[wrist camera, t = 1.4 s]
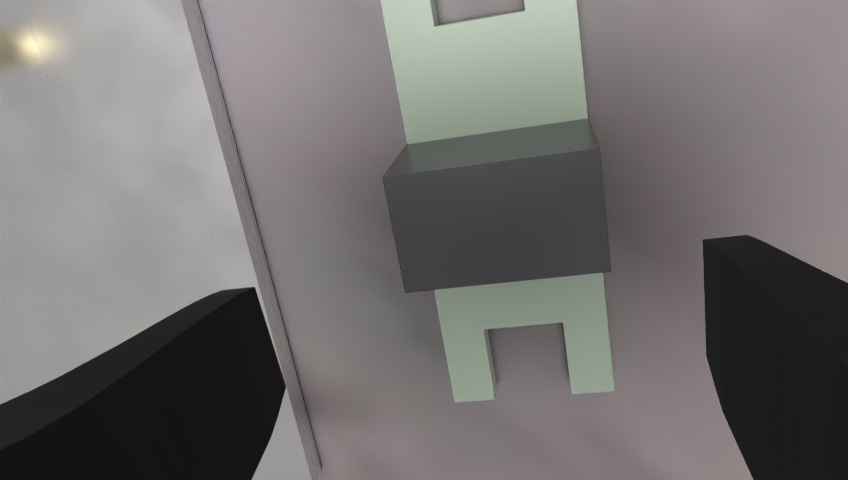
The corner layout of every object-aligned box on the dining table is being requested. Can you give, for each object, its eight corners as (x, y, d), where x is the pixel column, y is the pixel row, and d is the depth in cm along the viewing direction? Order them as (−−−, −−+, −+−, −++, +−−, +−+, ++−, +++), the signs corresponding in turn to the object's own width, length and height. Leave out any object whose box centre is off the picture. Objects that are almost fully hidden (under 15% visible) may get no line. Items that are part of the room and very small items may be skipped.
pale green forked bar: (611, 374, 22) (629, 464, 18) (457, 385, 23) (441, 474, 19) (564, -102, 18) (574, -125, 14) (376, -63, 19) (332, -74, 15)
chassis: (321, 467, 25) (285, 551, 22) (-9, 485, 28) (-91, 562, 24) (159, -142, 19) (69, -171, 15) (-249, -43, 22) (-410, -47, 18)
